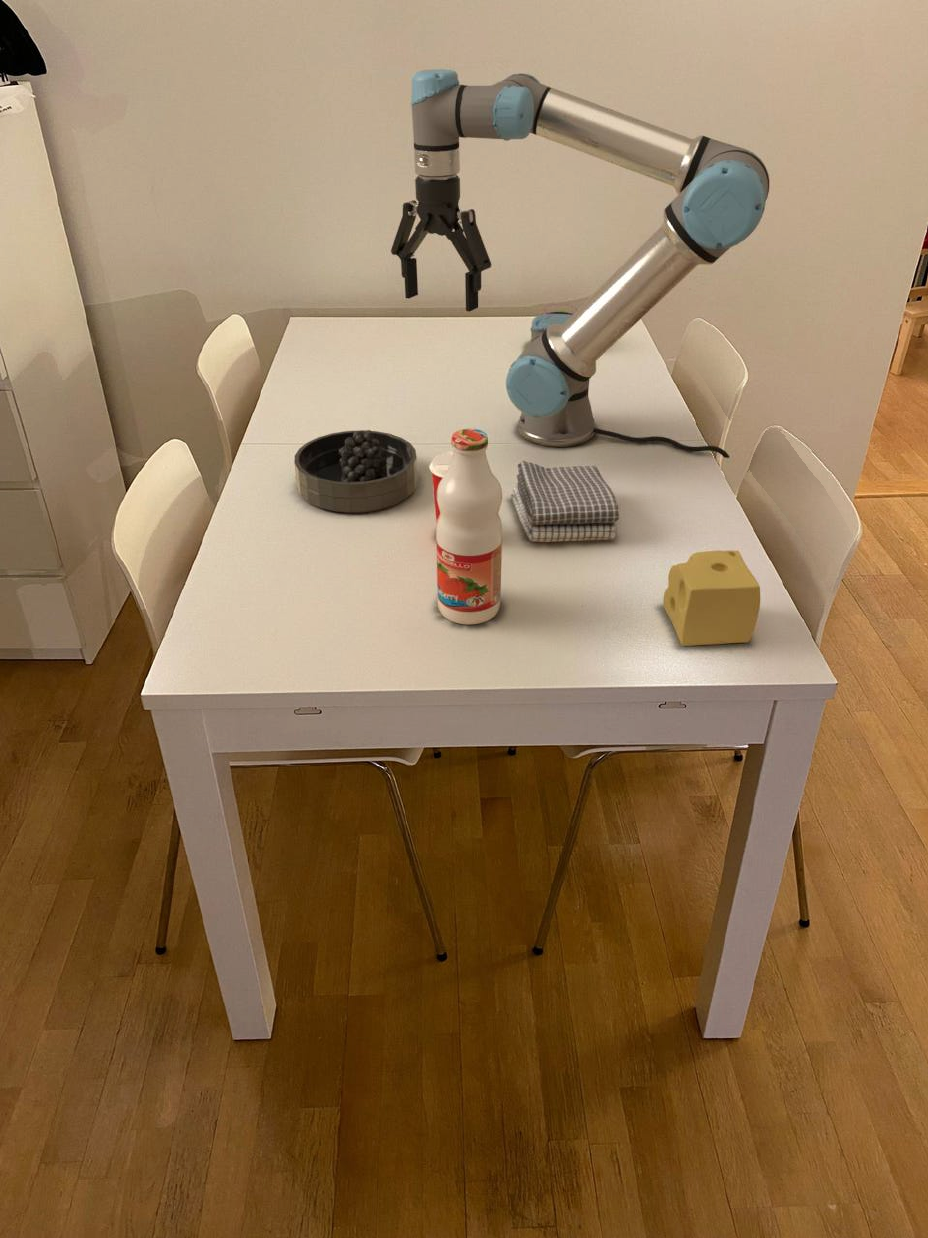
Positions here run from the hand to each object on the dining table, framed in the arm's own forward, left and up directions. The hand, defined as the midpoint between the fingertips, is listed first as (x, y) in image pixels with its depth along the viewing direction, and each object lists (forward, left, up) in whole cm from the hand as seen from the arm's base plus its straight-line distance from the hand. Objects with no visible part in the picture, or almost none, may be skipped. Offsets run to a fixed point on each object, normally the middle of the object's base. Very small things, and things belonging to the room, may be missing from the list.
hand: (441, 302), depth 178 cm
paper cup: (-24, +26, -28) cm, 45 cm away
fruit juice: (-39, +41, -28) cm, 63 cm away
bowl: (+1, +23, -28) cm, 36 cm away
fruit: (+1, +23, -28) cm, 36 cm away
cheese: (-69, +23, -28) cm, 77 cm away
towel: (-35, +10, -28) cm, 46 cm away
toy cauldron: (+12, -58, -28) cm, 66 cm away
